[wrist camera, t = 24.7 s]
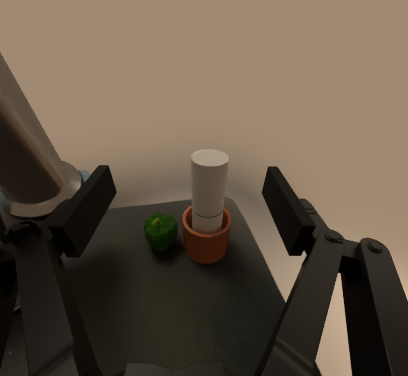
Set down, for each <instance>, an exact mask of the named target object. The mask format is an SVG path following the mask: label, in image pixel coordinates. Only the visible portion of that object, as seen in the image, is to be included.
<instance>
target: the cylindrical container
mask: <svg viewBox="0 0 408 376" xmlns="http://www.w3.org/2000/svg"><path fill="white" fill-rule="evenodd" d="M228 162H229V157H228V155H227V154H226V153H224V152H222V151H220V150H215V149H202V150H199V151H196V152H194V153H193V154H192V155H191V181H192V230H193V231H195V232H198V233H201V234H215V233H217V232H220V231H221V227H222V217H223V208H224V199H225V190H226V180H227V171H228Z"/></svg>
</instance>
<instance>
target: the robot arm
mask: <svg viewBox="0 0 408 376" xmlns="http://www.w3.org/2000/svg"><path fill="white" fill-rule="evenodd" d="M262 194H263V197H264V199H265V201H266V204H267V206H268V208H269V211H270V213H271V215H272V217H273V220H274V222H275V224H276V227H277V229H278V231H279V234H280V236H281V238H282V240H283V243H284V245H285V247H286V250H287V252H288V254H289V256H301V255H302V253H303V251H305V252H306V254H307V256H306V258H305V260H304V261H303V263H302V267H301V269H300V272H299V274H298V276H297V279H296V281H295V283H294V285H293V288H292V290H291V292H290V295H289V297H288V299H287V302H286V304H285V306H284V308H283V311H282V313H281V315H280V318H279V320H278V322H277V325H276V327H275V329H274V331H273V334H272V336H271V338H270V341H269V343H268V345H267V348H266V350H265V352H264V354H263V357H262V359H261V361H260V363H259V365H258V367H257V369H256V371H255V373H254V376H315V374H314V371H313V368H314V363H315V359H316V355H317V351H318V347H319V344H320V340H321V336H322V332H323V328H324V324H325V320H326V316H327V313H328V309H329V305H330V301H331V297H332V293H333V289H334V285H335V282H336V278H337V274H338V273H341V280H342V289H343V298H344V307H345V316H346V324H347V333H348V343H349V351H350V360H351V369H352V376H408V301H407V298H406V295H405V292H404V290H403V287H402V284H401V282H400V279H399V276H398V273H397V271H396V268H395V265H394V263H393V260H392V257H391V254H390V252H389V250H388V249H387V248H386V246H384V245H383V244H382V243H380V242H379V241H377V240H374V239H371V238H363V239H362V240H361V241H360V242H359V243H358V242H354V241H350V240H346V239H344V238H343V236H342V235H340V234H339V233H338V232H336V231H334V230H331V229H329V228H328V227H327V225H326V224H325V223H324V221H323V220H322V218H321V217H320V216H319V214H318V213H317V211H316V210H315V209H314V207H313V206H312V204H311V203H309V202H308V201H307V200H306V199H298V197H297V196H296V194H295V193H294V191H293V190H292V188H291V187H290V185H289V184H288V182H287V181H286V179H285V178H284V176H283V175H282V173H281V172H280V170H279V168H278V167H268V169H267V173H266V178H265V182H264V186H263V190H262ZM115 195H116V189H115V185H114V182H113V179H112V175H111V172H110V169H109V166H108V165H99V166H98V167H97V168H96V169H95V171H94V172H93V173H92V174H91V175H90V174H89V173H88V172H87V171H80V170H79V171H77V169H76V168H75V167H74V166H72V165H71V164H69V163H67V162H64V161H61V160H60V158H59V156H58V154H57V153H56V151H55V149H54V147H53V145H52V144H51V142H50V140H49V139H48V137H47V135H46V133H45V131H44V129H43V128H42V126H41V124H40V122H39V120H38V119H37V117H36V115H35V113H34V112H33V110H32V108H31V106H30V105H29V103H28V101H27V99H26V97H25V96H24V94H23V92H22V91H21V88H20V87H19V85H18V83H17V81H16V80H15V78H14V76H13V74H12V73H11V71H10V69H9V67H8V65H7V63H6V62H5V60H4V58H3V56H2V55H1V53H0V368H1V364H2V359H3V355H4V351H5V347H6V342H7V338H8V334H9V330H10V325H11V321H12V317H13V316H14V315H16V314H18V313H19V312H21V314H22V322H23V331H24V339H25V347H26V356H27V364H28V374H29V376H103V374H102V372H101V370H100V368H99V366H98V364H97V362H96V359H95V356H94V353H93V350H92V347H91V344H90V341H89V338H88V335H87V332H86V330H85V327H84V324H83V321H82V318H81V315H80V312H79V309H78V306H77V303H76V300H75V297H74V294H73V291H72V288H71V285H70V282H69V279H68V276H67V273H66V270H65V267H64V264H63V261H62V259H61V258H60V256H61V255H62V253H63V252H64V253H65V254H66V256H67V257H81V255H82V253H83V251H84V250H85V248H86V246H87V244H88V243H89V241H90V239H91V237H92V235H93V234H94V232H95V230H96V228H97V227H98V225H99V223H100V221H101V220H102V218H103V216H104V214H105V212H106V211H107V209H108V207H109V205H110V204H111V202H112V200H113V198H114V196H115ZM114 376H241V375H240V374H238V373H237V372H235V371H234V370H232V369H230V368H227V367H225V366H224V361H200V362H197V363H194V364H192V365H189V366H187V367H184V368H181V369H179V370H171V369H168V368H165V367H162V366H159V365H156V364H153V363H126V367H125V370H123V371H121V372H119V373H117V374H115V375H114Z"/></svg>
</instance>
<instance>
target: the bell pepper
mask: <svg viewBox="0 0 408 376" xmlns="http://www.w3.org/2000/svg"><path fill="white" fill-rule="evenodd" d="M144 230H145V237H146V239H147V241H148V243H149V245H150V246H151V248H152V249H154V250H156V251H158V252H163V251H165V250H167V249H168V247H169V246H172V245H173V244H174V243H175V240H176V236H177V230H178V228H177V223H176V221H175V219H174V218H173V216H172V215H169V214H168V215H166V216H164V215H163V214H160V213H155V214H154V215H153V216H151V217H150V218H148V219H146V221H145V225H144Z"/></svg>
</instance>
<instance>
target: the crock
mask: <svg viewBox="0 0 408 376" xmlns="http://www.w3.org/2000/svg"><path fill="white" fill-rule="evenodd" d="M182 224H183V240H184V249H185V252H186V254H187V255H188V256H189V257H190V258H191V259H192V260H194V261H196V262H198V263H202V264H210V263H214V262H217V261H219V260H220V259H221V258H222V257H223V256H224V255H225V254H226V251H227V248H228V241H229V235H230V228H231V216H230V213H229V212H228V211H227V210H226V208H223V217H222V227H221V231H220V232H217V233H215V234H201V233H198V232H195V231H193V230H192V205H191V206H190V207H188V208H187V209H186V210H185V212H184V213H183V216H182Z"/></svg>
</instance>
